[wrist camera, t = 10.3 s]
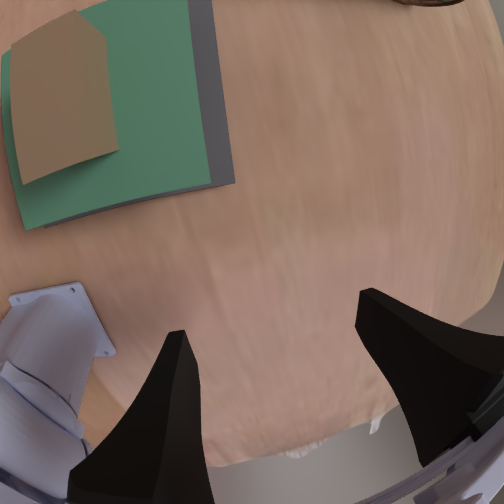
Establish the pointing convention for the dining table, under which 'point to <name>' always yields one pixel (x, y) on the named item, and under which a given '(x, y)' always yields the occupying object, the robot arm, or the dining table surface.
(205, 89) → the chassis
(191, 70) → the board
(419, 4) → the tin
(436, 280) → the dining table surface
